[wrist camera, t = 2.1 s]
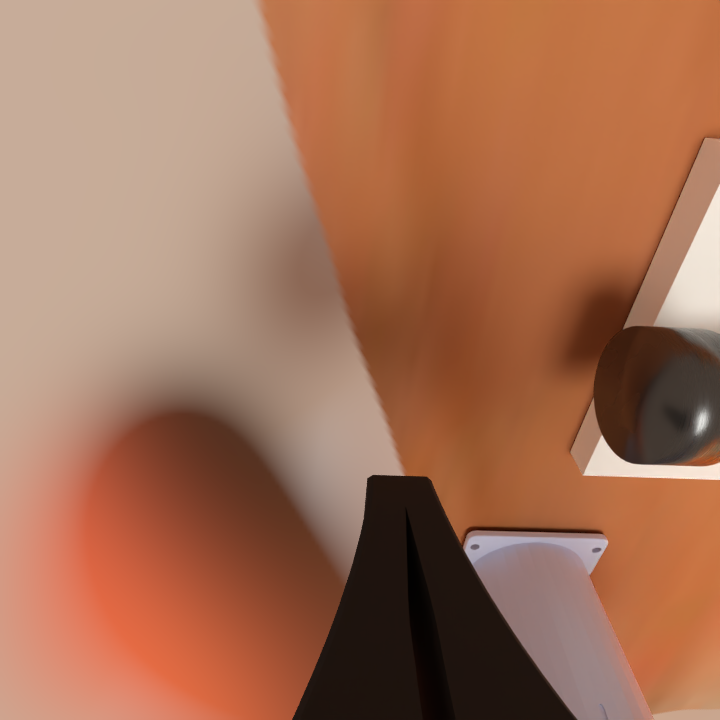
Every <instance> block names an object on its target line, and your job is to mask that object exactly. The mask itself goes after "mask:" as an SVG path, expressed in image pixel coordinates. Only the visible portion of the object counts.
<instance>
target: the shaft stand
mask: <svg viewBox="0 0 720 720" xmlns="http://www.w3.org/2000/svg"><path fill="white" fill-rule="evenodd" d="M631 326H654V327H676V328H699V329H707V330H711V331H714V332H716V333H719V334H720V139H719V138H705V139H704V141H703V144H702V146H701V148H700V151H699V153H698V155H697V158H696V160H695V162H694V165H693V167H692V169H691V172H690V174H689V176H688V179H687V181H686V183H685V186H684V188H683V190H682V193H681V195H680V197H679V200H678V202H677V204H676V207H675V209H674V211H673V214H672V216H671V218H670V221H669V223H668V225H667V228H666V230H665V232H664V235H663V237H662V239H661V241H660V244H659V246H658V248H657V251H656V253H655V255H654V258H653V260H652V262H651V265H650V267H649V269H648V272H647V274H646V276H645V279H644V281H643V283H642V286H641V288H640V290H639V293H638V295H637V297H636V300H635V302H634V304H633V307H632V309H631V311H630V314H629V316H628V318H627V321H626V323H625V325H624V328H623V329H625V328H628V327H631ZM570 453H571V455H572V456H573V458H574V460H575V462H576V464H577V466H578V467H579V469H580V471H581V473H582V475H587V476H619V477H651V478H682V479H714V480H720V462H719V463H717V464H715V465H710V466H670V465H639V464H632V463H629V462H626V461H624V460H623V459H621V458H620V457H618V456H617V455H616V454H615V453H614V452H613V451H612V450H611V449H610V447H609V446H608V445H607V443H606V441H605V439H604V438H603V435H602V433H601V431H600V428H599V425H598V422H597V418H596V413H595V407H594V397H593V400H592V402H591V404H590V407H589V409H588V411H587V414H586V416H585V418H584V421H583V423H582V425H581V428H580V430H579V432H578V435H577V437H576V439H575V442H574V444H573V446H572V449H571V451H570Z"/></svg>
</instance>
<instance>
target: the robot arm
mask: <svg viewBox="0 0 720 720" xmlns="http://www.w3.org/2000/svg"><path fill="white" fill-rule="evenodd" d="M607 545H608V540H607V538H606V536H605V535H603V534H590V533H553V532H516V531H479V530H476V531H471V532H469V533H468V534H467V536H466V539H465V542H464V546H463V547H462V545H461V543H460V541H459V540H458V538H457V536H456V534H455V532H454V530H453V528H452V526H451V524H450V522H449V520H448V518H447V516H446V514H445V511H444V509H443V507H442V505H441V503H440V501H439V498H438V496H437V494H436V491H435V489H434V486H433V484H432V481H431V480H430V479H429V478H428V477H420V476H387V475H372V476H371V477H369V478H368V479H367V489H366V500H365V512H364V520H363V525H362V530H361V534H360V538H359V542H358V545H357V549H356V553H355V557H354V561H353V564H352V568H351V571H350V574H349V577H348V580H347V583H346V586H345V589H344V592H343V595H342V598H341V602H340V605H339V607H338V610H337V613H336V616H335V618H334V621H333V624H332V626H331V629H330V632H329V634H328V637H327V639H326V642H325V645H324V647H323V650H322V652H321V654H320V657H319V659H318V662H317V664H316V667H315V669H314V671H313V674H312V676H311V678H310V681H309V683H308V686H307V687H306V690H305V692H304V695H303V697H302V699H301V701H300V704H299V706H298V708H297V710H296V712H295V715H294V717H293V719H292V720H654V718H653V716H652V714H651V712H650V709H649V707H648V705H647V703H646V701H645V698H644V696H643V694H642V692H641V689H640V687H639V685H638V683H637V681H636V678H635V676H634V674H633V672H632V670H631V667H630V665H629V663H628V661H627V659H626V656H625V654H624V652H623V650H622V647H621V645H620V643H619V641H618V639H617V636H616V634H615V632H614V630H613V628H612V625H611V623H610V621H609V619H608V616H607V614H606V612H605V610H604V608H603V605H602V603H601V601H600V599H599V597H598V594H597V592H596V590H595V588H594V586H593V583H592V581H591V579H590V577H589V576H590V574H591V572H592V571H593V569H594V567H595V566H596V564H597V562H598V560H599V559H600V557H601V555H602V554H603V552H604V550H605V549H606V547H607Z"/></svg>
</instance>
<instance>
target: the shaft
mask: <svg viewBox="0 0 720 720" xmlns="http://www.w3.org/2000/svg"><path fill="white" fill-rule="evenodd" d="M594 407H595V413H596V418H597V422H598V425H599V428H600V431H601V433H602V435H603V438H604V439H605V441H606V443H607V445H608V446H609V447H610V449H611V450H612V451H613V452H614V453H615V454H616V455H617V456H618V457H620V458H621V459H623V460H624V461H626V462H629V463H632V464H639V465H670V466H710V465H715V464H717V463H719V462H720V334H719V333H716V332H714V331H711V330H707V329H699V328H676V327H654V326H631V327H628V328H625V329H623V330H622V331H620V332H619V333H617V334H616V335H615V336H614V337H613V338H612V339H611V340H610V342H609V343H608V344H607V346H606V347H605V349H604V351H603V353H602V355H601V357H600V360H599V363H598V366H597V370H596V375H595V381H594Z"/></svg>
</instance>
